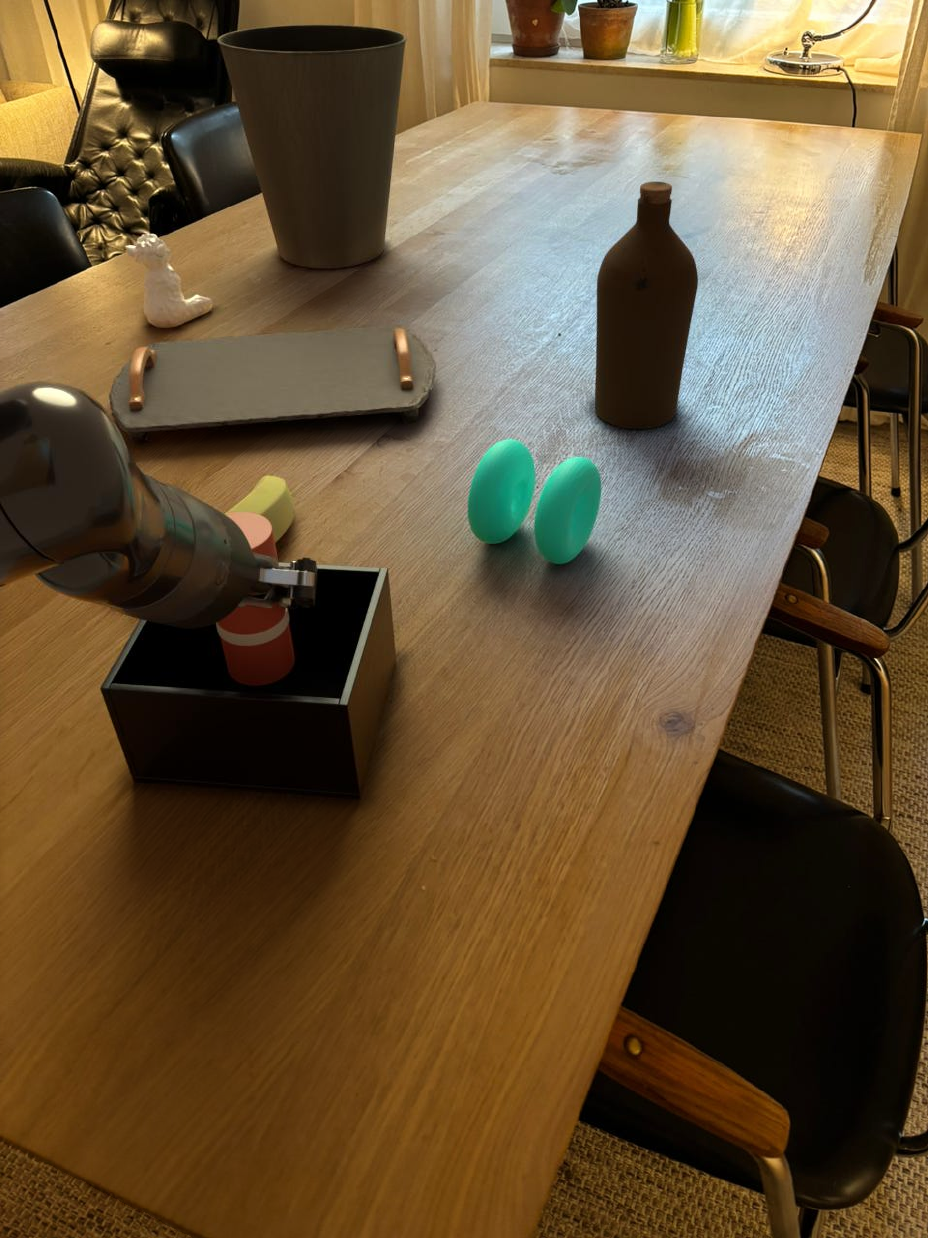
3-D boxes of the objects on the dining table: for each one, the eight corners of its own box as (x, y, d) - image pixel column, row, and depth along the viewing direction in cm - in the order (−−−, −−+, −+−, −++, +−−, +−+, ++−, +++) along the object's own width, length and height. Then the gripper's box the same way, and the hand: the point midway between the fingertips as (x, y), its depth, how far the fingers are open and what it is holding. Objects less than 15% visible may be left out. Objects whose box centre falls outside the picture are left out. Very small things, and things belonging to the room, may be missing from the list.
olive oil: (696, 424, 113) (728, 195, 97) (609, 439, 111) (627, 207, 95) (658, 384, 121) (682, 165, 105) (576, 396, 119) (587, 176, 103)
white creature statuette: (215, 308, 142) (199, 222, 134) (192, 333, 135) (174, 244, 128) (153, 305, 143) (133, 220, 135) (127, 330, 137) (105, 242, 129)
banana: (313, 484, 91) (107, 580, 85) (333, 537, 94) (134, 634, 87) (265, 456, 102) (79, 539, 96) (284, 504, 105) (104, 587, 98)
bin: (133, 782, 74) (99, 688, 67) (199, 646, 85) (175, 556, 79) (360, 800, 72) (347, 705, 66) (396, 659, 83) (388, 567, 77)
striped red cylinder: (217, 684, 73) (185, 552, 65) (238, 638, 77) (210, 508, 69) (285, 689, 72) (261, 556, 65) (303, 643, 76) (282, 512, 69)
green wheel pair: (559, 588, 90) (563, 495, 84) (463, 558, 94) (460, 467, 88) (602, 532, 97) (609, 442, 90) (511, 506, 101) (511, 418, 94)
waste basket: (430, 231, 164) (420, 23, 145) (402, 278, 149) (388, 51, 130) (274, 226, 168) (245, 22, 149) (231, 270, 153) (193, 49, 134)
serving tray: (101, 455, 111) (86, 404, 107) (130, 364, 128) (118, 318, 124) (446, 427, 114) (444, 377, 110) (427, 342, 131) (425, 296, 127)
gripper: (294, 496, 55) (357, 547, 72) (51, 485, 57) (168, 537, 74) (283, 630, 55) (349, 649, 72) (37, 615, 56) (158, 637, 73)
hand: (257, 592), depth 73 cm, fingers closed on striped red cylinder, 5 cm apart
